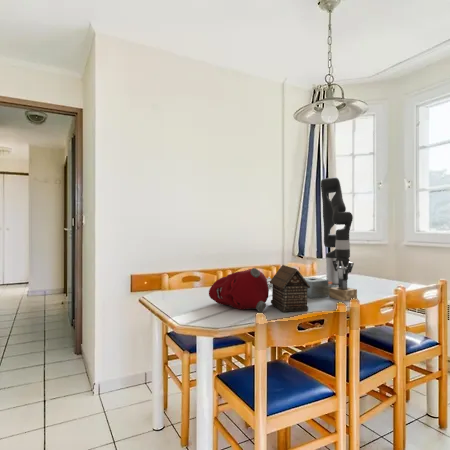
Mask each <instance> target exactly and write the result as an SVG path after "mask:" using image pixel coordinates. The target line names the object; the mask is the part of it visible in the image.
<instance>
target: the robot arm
mask: <svg viewBox="0 0 450 450" xmlns="http://www.w3.org/2000/svg"><path fill="white" fill-rule="evenodd" d="M341 187H342V186H341V182H340V179H339V178H338V177H336V176H334V177H327V178H323V179H321V180H320V191H321V192H320V193H321V198H322V199H321V200H322V219H323V244H324V247H325V248H334V250H332V251H329V252H326V254H325V261H326V262H325V263H326V268H325V269H326V270H325V271H326V273H325V275H326V278H325V280H328V281H330V282H332V284H331V285H333V284H334V285H337V284H338V269H343V272H344V281H347V282H348V279H349V274H350V273H352V271H353V267H354V262H352V261H350V257H351V243H350V231H351V227H352V223H353V219H354V216H353V214H352V212H350V211H347V210H346V209H347V207H346V205H345V202H344V198H343V191H342V188H341ZM333 193H334V194H333ZM328 194H333V196H332V198H331V199H330V198H329V196H328ZM335 225H337V226H338V225H339V226H343V225H344V227H342V228H339V229H336V230H335V233H330V232H331V230H332V229H333V227H334V226H335ZM345 269H346V270H345Z"/></svg>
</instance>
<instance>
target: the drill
mask: <svg viewBox="0 0 450 450" xmlns="http://www.w3.org/2000/svg"><path fill="white" fill-rule="evenodd" d="M345 270H346V269H345ZM337 287H339V289H341V290H347V287H348V280H347V281H344V272H343V269H338V286H337Z"/></svg>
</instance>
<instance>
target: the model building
mask: <svg viewBox="0 0 450 450" xmlns="http://www.w3.org/2000/svg"><path fill="white" fill-rule="evenodd" d="M304 278H305V277H303V274H301V273H300V270H299V269H297V268H294V267H291V266H288V265H285V264H282V265H281V266H280V267H279V268H278V270H277V271H276V273H275V274H274V275H273V277H272V278H271V281H270V282H269V283H271V284H273V286H272V287H271V288H272V290H271V292H272V293H271V294H272V295H271V300H270V303H271V306H274V307H275V308H277V309H278V310H279V311H281V312H282V313H283V312H284V313H290V312H306V311H308V310H309V306H308V297H307V289H308V288H310V286H309V284H308V283H307V282H306V280H305V279H304Z"/></svg>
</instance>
